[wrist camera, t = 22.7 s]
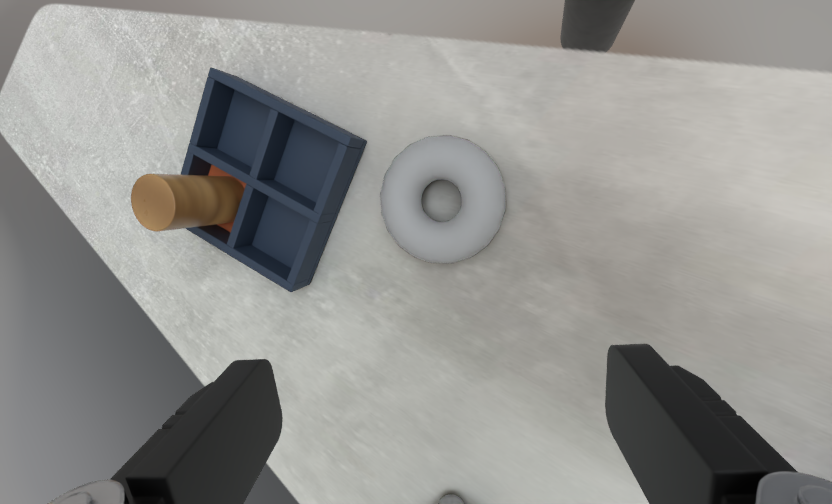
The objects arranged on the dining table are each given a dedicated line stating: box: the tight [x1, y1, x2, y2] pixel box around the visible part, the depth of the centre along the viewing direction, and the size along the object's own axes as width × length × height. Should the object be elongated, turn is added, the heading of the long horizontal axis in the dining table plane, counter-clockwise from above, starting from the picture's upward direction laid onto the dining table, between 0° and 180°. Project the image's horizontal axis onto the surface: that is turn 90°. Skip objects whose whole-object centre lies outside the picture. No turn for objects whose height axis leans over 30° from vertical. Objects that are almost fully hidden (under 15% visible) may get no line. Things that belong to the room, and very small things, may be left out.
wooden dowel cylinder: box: [131, 174, 245, 231], centre depth 35 cm, size 4×4×8 cm
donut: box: [380, 135, 505, 263], centre depth 32 cm, size 10×4×10 cm
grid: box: [181, 68, 367, 292], centre depth 36 cm, size 14×14×3 cm
